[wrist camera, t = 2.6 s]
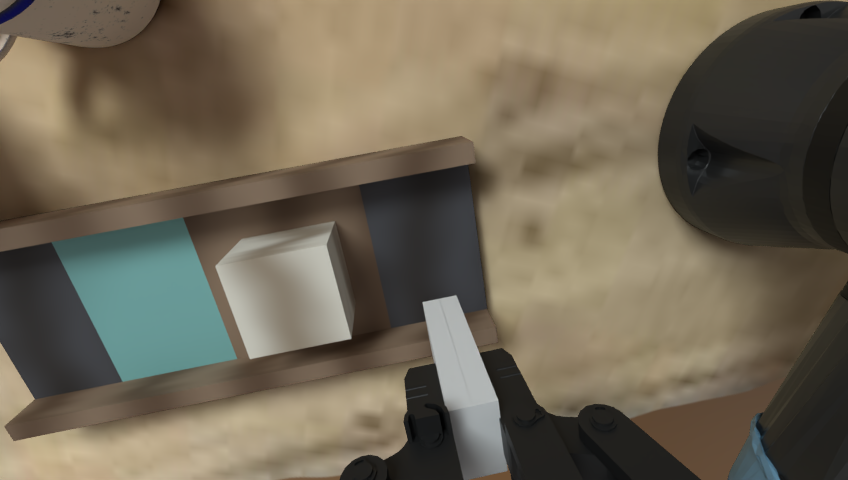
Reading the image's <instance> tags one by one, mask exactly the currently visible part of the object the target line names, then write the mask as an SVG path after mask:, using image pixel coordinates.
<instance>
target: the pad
mask: <svg viewBox="0 0 848 480" xmlns="http://www.w3.org/2000/svg"><path fill="white" fill-rule="evenodd" d="M52 244H53V246H54V248H55V250H56V252H57V254H58V256H59V258H60V260H61V262H62V264H63V266H64V268H65V270H66V272H67V274H68V276H69V278H70V280H71V281H72V283H73V285H74V287H75V289H76V291H77V293H78V295H79V297H80V299H81V301H82V303H83V305H84V307H85V309H86V311H87V313H88V315H89V317H90V319H91V321H92V323H93V325H94V327H95V329H96V330H97V332H98V334H99V336H100V338H101V340H102V342H103V344H104V346H105V348H106V350H107V352H108V354H109V356H110V358H111V360H112V362H113V364H114V366H115V368H116V370H117V372H118V374H119V376H120V378H121V380H122V381H123V382H124V381H129V380H134V379H139V378H144V377H149V376H154V375H159V374H164V373H169V372H174V371H179V370H184V369H189V368H194V367H199V366H204V365H209V364H214V363H219V362H224V361H229V360H234V359H237V357H236V354H235V352H234V349H233V346H232V344H231V341H230V339H229V336H228V333H227V331H226V328H225V326H224V323H223V320H222V318H221V315H220V313H219V310H218V307H217V305H216V302H215V300H214V297H213V294H212V292H211V289H210V287H209V284H208V281H207V279H206V276H205V274H204V271H203V269H202V266H201V263H200V261H199V258H198V255H197V253H196V250H195V248H194V245H193V242H192V240H191V237H190V235H189V232H188V229H187V227H186V224H185V222H184V219H183V218H178V219H173V220H168V221H162V222H157V223H152V224H146V225H141V226H135V227H130V228H125V229H119V230H114V231H109V232H103V233H98V234H93V235H87V236H82V237H77V238H71V239H66V240H60V241H55V242H52Z"/></svg>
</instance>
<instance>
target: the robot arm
mask: <svg viewBox="0 0 848 480" xmlns="http://www.w3.org/2000/svg"><path fill="white" fill-rule="evenodd" d="M658 162H659V171H660V177H661V181H662V184H663V187H664V190H665V192H666V195H667V197H668V199H669V201H670V202H671V204H672V205H673V207H674V208H675V210H676V211H677V212H678V213H679V214H680V215H681V216H682V217H683V218H684V219H685V220H686V221H688V222H689V223H690V224H692V225H693V226H695V227H697V228H699V229H701V230H703V231H705V232H708V233H710V234H713V235H715V236H717V237H720V238H722V239H725V240H728V241H731V242H735V243H739V244H744V245H751V246H771V247H793V248H815V249H836V250H839V251H842V252H845V253H848V2H843V1H813V2H806V3H801V4H796V5H792V6H787V7H783V8H778V9H774V10H769V11H766V12H763V13H760V14H757V15H755V16H752V17H750V18H748V19H746V20H744V21H742V22H740V23H738V24H737V25H735V26H733V27H732V28H730V29H729V30H727V31H726V32H724V33H723V34H722V35H721V36H719V37H718V38H717V39H716V40H715V41H713V42H712V43H711V44H710V45H709V46H708V47H707V48H706V49H705V50H704V51H703V52H702V53H701V54H700V55H699V56H698V57H697V59H696V60H695V61H694V62H693V64H692V65H691V66H690V67H689V69H688V70H687V72H686V73H685V74H684V76H683V78H682V79H681V81H680V82H679V84H678V86H677V88H676V90H675V91H674V93H673V96H672V98H671V100H670V102H669V105H668V107H667V110H666V113H665V116H664V119H663V123H662V127H661V132H660V138H659V148H658ZM422 303H423V308H424V313H425V319H426V324H427V329H428V334H429V340H430V345H431V350H432V355H433V360H434V364H429V365H425V366H420V367H415V368H410V369H409V370H408V372H407V374H406V377H405V379H404V380H405V390H406V399H407V410H408V411H407V413H406V414H405V417H404V425H405V430H406V434H407V438H408V441H407V442H406V444H405V445H404V447H403V448H402V449H401V450H400V451H399V452H397V453H396V454H394V455H393V456H391V457H389V458H387V459H385V460H383V459H381V458H380V457H378V456H373V455H367V456H361V457H359V458H357V459H355V460H353V461H352V462H351V463H350V464H349V465H348V466H347V467H346V468H345V469H344V471H343V473H342V475H341V477H340V480H469V479H474V478H478V477H482V476H487V475H491V474H495V473H500V472H505V471H507V465H508V468H509V470H510V473H511V479H512V480H701V479H699V478H698V477H697V476H696V475H695V474H693V473H692V472H691V471H690V470H689V469H688V468H686V467H685V466H684V465H683V464H682V463H681V462H679V461H678V460H677V459H676V458H675V457H674V456H672V455H671V454H670V453H669V452H668V451H666V450H665V449H664V448H663V447H662V446H660V445H659V444H658V443H657V442H656V441H655V440H654V439H652V438H651V437H650V436H649V435H648V434H647V433H645V432H644V431H643V430H642V429H641V428H639V427H638V426H637V425H636V424H635V423H633V422H632V421H631V420H630V419H629V418H628V417H626V416H625V415H624V414H623V413H622V412H620V411H619V410H617V409H615V408H614V407H611V406H607V405H603V404H593V405H589V406H586V407H585V408H583V409H582V410H581V411H580V413H579V415H578V417H562V416H556V415H553V414H550V413H548V412H546V411H545V409H544V408H543V407H541V406H539V405H538V404H537V403H536V401H535V399H534V397H533V396H532V394H531V392H530V390H529V388H528V386H527V384H526V382H525V380H524V378H523V376H522V374H521V372H520V370H519V369H518V367H517V365H516V363H515V361H514V359H513V357H512V355H510V354H509V353H508V352H506V351H505V350H504V349H502V348H501V349H496V350H491V351H487V352H482V353H479V351H478V348H477V346H476V343H475V341H474V338H473V336H472V333H471V331H470V328H469V326H468V323H467V321H466V318H465V316H464V313H463V311H462V308H461V306H460V303H459V301H458V298H457V296H456V295H455V296H450V297H445V298H440V299H436V300H431V301H426V302H422ZM506 462H507V463H506ZM728 480H848V282H847V283H846V285H845V286H844V288H843V290H842V291H841V292H840V293H839V294H838V296H837V298H836V299H835V301H834V302H833V304H832V306H831V307H830V309H829V310H828V312H827V313H826V315H825V317H824V318H823V320H822V321H821V323H820V325H819V326H818V328H817V329H816V331H815V332H814V334H813V336H812V337H811V339H810V340H809V342H808V344H807V345H806V347H805V348H804V350H803V351H802V353H801V355H800V356H799V358H798V359H797V361H796V363H795V364H794V366H793V367H792V369H791V370H790V372H789V374H788V375H787V377H786V378H785V380H784V382H783V383H782V385H781V386H780V388H779V389H778V391H777V393H776V394H775V396H774V398H773V399H772V401H771V402H770V404H769V405H768V407H767V408H766V410H765V412H764V413H757V414H756V415H755V417H754V418H753V419H752V421H751V426H750V435H749V437H748V439H747V440H746V442H745V444H744V446H743V448H742V449H741V452H740V453H739V455H738V457H737V459H736V461H735V462H734V464H733V466H732V468H731V470H730V473H729V476H728Z"/></svg>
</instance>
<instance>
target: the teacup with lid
mask: <svg viewBox="0 0 848 480" xmlns="http://www.w3.org/2000/svg"><path fill="white" fill-rule="evenodd" d="M159 2H160V0H0V61H1V60H2V59H3V58H4V57H5V56H6V55H7V53H8V52H9V50H10V49H11V47H12V46H13V44H14V42H15V40H16V38H17V36H19V37H25V38H31V39H37V40H43V41H50V42H56V43H62V44H68V45H74V46H80V47H89V48H101V47H110V46H114V45H118V44H121V43H124V42H126V41H128V40H130V39H131V38H133V37H135V36H136V35H137V34H139V33H140V32H141V31H142V30H143V29H144V28H145V27H146V26H147V25H148V23H149V22H150V21H151V19H152V18H153V16H154V14H155V13H156V10H157V8H158V6H159Z"/></svg>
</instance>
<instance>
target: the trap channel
mask: <svg viewBox="0 0 848 480" xmlns="http://www.w3.org/2000/svg"><path fill="white" fill-rule="evenodd" d="M473 163H476V162H475V154H474V146H473V142H472V141H470V140H468V139H466V138H464V137H462V136H460V137H454V138H449V139H444V140H438V141H433V142H427V143H422V144H416V145H411V146H406V147H400V148H395V149H389V150H384V151H378V152H373V153H368V154H362V155H357V156H351V157H346V158H340V159H335V160H329V161H324V162H319V163H313V164H308V165H302V166H297V167H291V168H286V169H281V170H275V171H270V172H264V173H259V174H253V175H248V176H243V177H237V178H232V179H226V180H221V181H215V182H210V183H204V184H199V185H194V186H188V187H183V188H177V189H172V190H166V191H161V192H156V193H150V194H145V195H139V196H134V197H128V198H123V199H118V200H112V201H107V202H101V203H96V204H90V205H85V206H79V207H74V208H69V209H63V210H58V211H52V212H47V213H41V214H36V215H31V216H25V217H20V218H14V219H9V220H3V221H0V343H1V344H2V346H3V347H4V349H5V351H6V352H7V354H8V356H9V357H10V359H11V361H12V362H13V364H14V365H15V367H16V369H17V370H18V372H19V374H20V375H21V377H22V379H23V380H24V382H25V384H26V385H27V387H28V388H29V390H30V392H31V393H32V395H33V397H34V398H35V400H34V401H33V402H32V403H30V404H29V405H28V406H27V407H26V408H25V409H24V410H22V411H21V412H20V413H19V414H18V415H17V416H16V417H14V418H13V419H12V420H11V421H10V422H9V423H8V424H7V425H5V426H4V427H5V428H6V430H7V431H8V433H9V434H10V436H11V438H12V439H13V441H16V440H21V439H26V438H31V437H35V436H40V435H45V434H50V433H55V432H60V431H65V430H70V429H75V428H80V427H85V426H90V425H95V424H99V423H104V422H109V421H114V420H119V419H124V418H129V417H134V416H139V415H144V414H149V413H154V412H158V411H163V410H168V409H173V408H178V407H183V406H188V405H193V404H198V403H203V402H208V401H213V400H218V399H222V398H227V397H232V396H237V395H242V394H247V393H252V392H257V391H262V390H267V389H272V388H277V387H282V386H286V385H291V384H296V383H301V382H306V381H311V380H316V379H321V378H326V377H331V376H336V375H341V374H346V373H350V372H355V371H360V370H365V369H370V368H375V367H380V366H385V365H390V364H395V363H400V362H405V361H409V360H414V359H419V358H424V357H429V356H433V355H432V350H431V345H430V340H429V334H428V329H427V324H426V319H425V313H424V308H423V303H422V302H426V301H431V300H436V299H440V298H445V297H450V296H455V295H456V296H457V298H458V301H459V303H460V306H461V308H462V311H463V313H464V316H465V318H466V321H467V323H468V326H469V328H470V331H471V333H472V336H473V338H474V341H475V343H476V346H477V347H478V346H483V345H488V344H493V343H498V338H497V330H496V326H495V324H494V322H493V320H492V318H491V316H490V314H489V312H488V310H487V305H486V297H485V289H484V282H483V274H482V267H481V259H480V251H479V244H478V236H477V228H476V221H475V213H474V206H473V198H472V190H471V183H470V175H469V168H468V164H473ZM178 218H183V219H184V222H185V224H186V227H187V229H188V232H189V235H190V237H191V240H192V242H193V245H194V248H195V250H196V253H197V255H198V258H199V261H200V263H201V266H202V269H203V271H204V274H205V276H206V279H207V281H208V284H209V287H210V289H211V292H212V294H213V297H214V300H215V302H216V305H217V307H218V310H219V313H220V315H221V318H222V320H223V323H224V326H225V328H226V331H227V333H228V336H229V339H230V341H231V344H232V346H233V349H234V352H235V354H236V357H237V359H234V360H229V361H224V362H219V363H214V364H209V365H204V366H199V367H194V368H189V369H184V370H179V371H174V372H169V373H164V374H159V375H154V376H149V377H144V378H139V379H134V380H129V381H124V382H123V381H122V380H121V378H120V376H119V374H118V372H117V370H116V368H115V366H114V364H113V362H112V360H111V358H110V356H109V354H108V352H107V350H106V348H105V346H104V344H103V342H102V340H101V338H100V336H99V334H98V332H97V330H96V329H95V327H94V325H93V323H92V321H91V319H90V317H89V315H88V313H87V311H86V309H85V307H84V305H83V303H82V301H81V299H80V297H79V295H78V293H77V291H76V289H75V287H74V285H73V283H72V281H71V280H70V278H69V276H68V274H67V272H66V270H65V268H64V266H63V264H62V262H61V260H60V258H59V256H58V254H57V252H56V250H55V248H54V246H53V244H52V242H55V241H60V240H66V239H71V238H77V237H82V236H87V235H93V234H98V233H103V232H109V231H114V230H119V229H125V228H130V227H135V226H141V225H146V224H152V223H157V222H162V221H168V220H173V219H178ZM333 221H335V223H336V227H337V231H338V235H339V239H340V243H341V247H342V251H343V255H344V258H345V262H346V266H347V270H348V274H349V278H350V282H351V286H352V290H353V294H354V298H355V302H356V305H355V313H354V322H353V330H352V338H351V339H348V340H343V341H338V342H333V343H328V344H323V345H318V346H313V347H308V348H303V349H298V350H293V351H288V352H283V353H278V354H273V355H268V356H263V357H258V358H253V359H250V358H249V356H248V353H247V350H246V348H245V345H244V342H243V340H242V337H241V334H240V331H239V329H238V326H237V323H236V321H235V318H234V315H233V313H232V310H231V307H230V305H229V302H228V299H227V297H226V294H225V291H224V289H223V286H222V283H221V280H220V278H219V275H218V272H217V270H216V267H215V266H216V265H217V264H218V263H219V262H220V261H221V260H222V259H223V258H224V257H225V255H226V254H227V253H228V252H229V251H230V250H231V249H232V248H233V247H234V246H235V245H236V244H237V243H238V242H239V241H240V240H241V239H243V238H249V237H254V236H259V235H264V234H270V233H275V232H280V231H286V230H291V229H296V228H301V227H307V226H312V225H317V224H322V223H328V222H333Z"/></svg>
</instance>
